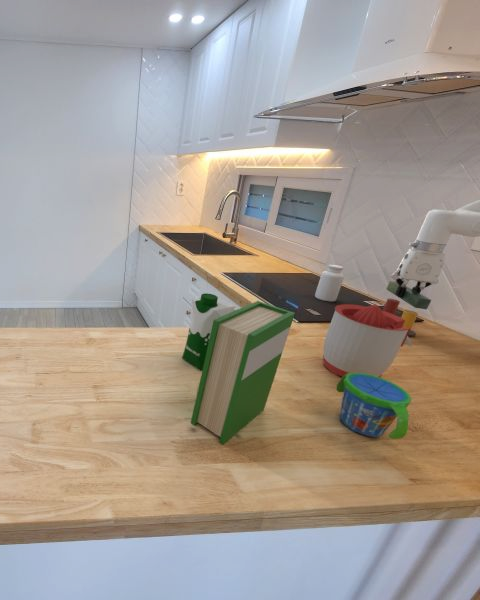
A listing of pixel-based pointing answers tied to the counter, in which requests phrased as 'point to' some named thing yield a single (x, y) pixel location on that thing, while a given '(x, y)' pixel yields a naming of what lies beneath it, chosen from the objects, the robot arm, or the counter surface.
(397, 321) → the citrus juicer
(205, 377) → the hardback book
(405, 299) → the bar
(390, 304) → the red post
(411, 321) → the mustard post
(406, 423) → the snack cup
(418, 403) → the counter surface
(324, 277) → the pill bottle
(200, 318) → the milk carton
